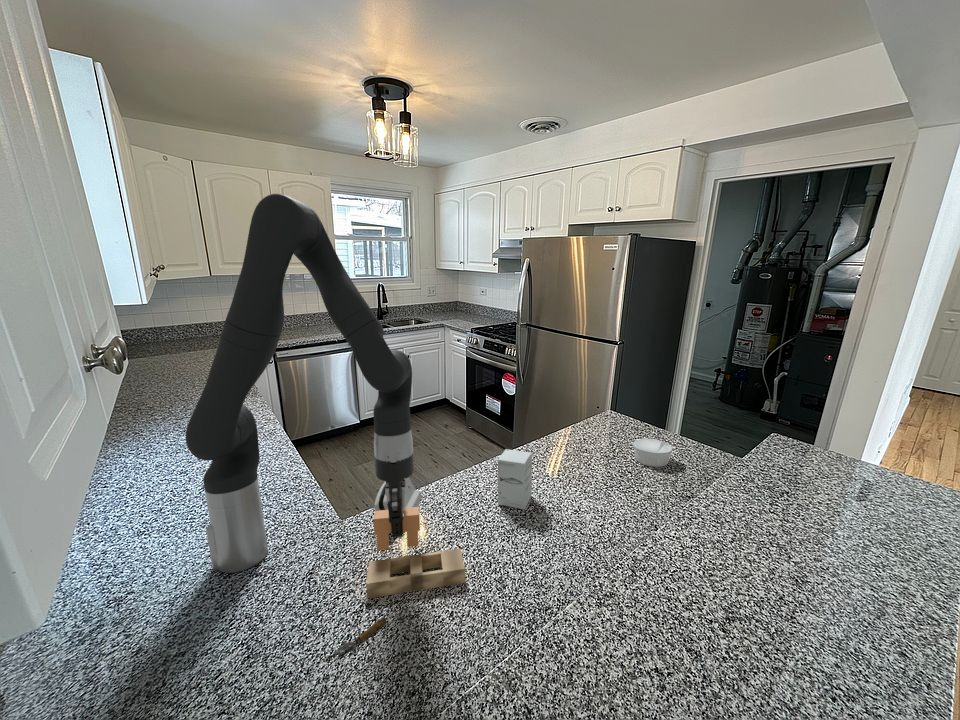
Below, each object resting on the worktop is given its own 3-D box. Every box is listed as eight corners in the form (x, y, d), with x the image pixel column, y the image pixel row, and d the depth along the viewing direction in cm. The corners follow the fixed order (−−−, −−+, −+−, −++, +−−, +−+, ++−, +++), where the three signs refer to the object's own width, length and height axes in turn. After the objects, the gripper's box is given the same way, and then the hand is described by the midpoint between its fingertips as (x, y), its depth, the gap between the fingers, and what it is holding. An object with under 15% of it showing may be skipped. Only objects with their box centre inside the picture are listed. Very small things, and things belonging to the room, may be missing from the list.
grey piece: (404, 534, 89) (387, 496, 88) (386, 540, 90) (368, 502, 89) (423, 496, 106) (408, 463, 104) (407, 501, 107) (393, 468, 105)
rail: (367, 598, 71) (366, 583, 71) (370, 575, 77) (369, 561, 76) (465, 582, 74) (464, 568, 74) (461, 561, 80) (460, 548, 80)
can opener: (384, 620, 67) (383, 615, 66) (391, 629, 65) (390, 623, 65) (331, 654, 61) (330, 648, 61) (337, 664, 59) (336, 658, 59)
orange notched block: (375, 550, 79) (373, 519, 78) (376, 541, 82) (374, 510, 81) (420, 545, 81) (419, 514, 79) (419, 536, 84) (418, 506, 82)
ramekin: (678, 468, 118) (679, 452, 117) (640, 469, 118) (641, 453, 117) (661, 453, 129) (662, 438, 128) (627, 454, 129) (628, 438, 128)
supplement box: (497, 505, 100) (496, 459, 98) (506, 491, 107) (505, 447, 105) (525, 510, 98) (524, 463, 95) (532, 496, 104) (532, 451, 102)
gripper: (377, 439, 84) (381, 513, 87) (371, 469, 70) (376, 555, 73) (412, 437, 85) (415, 509, 88) (413, 465, 72) (416, 550, 75)
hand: (397, 530), depth 81 cm, fingers closed on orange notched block, 3 cm apart
